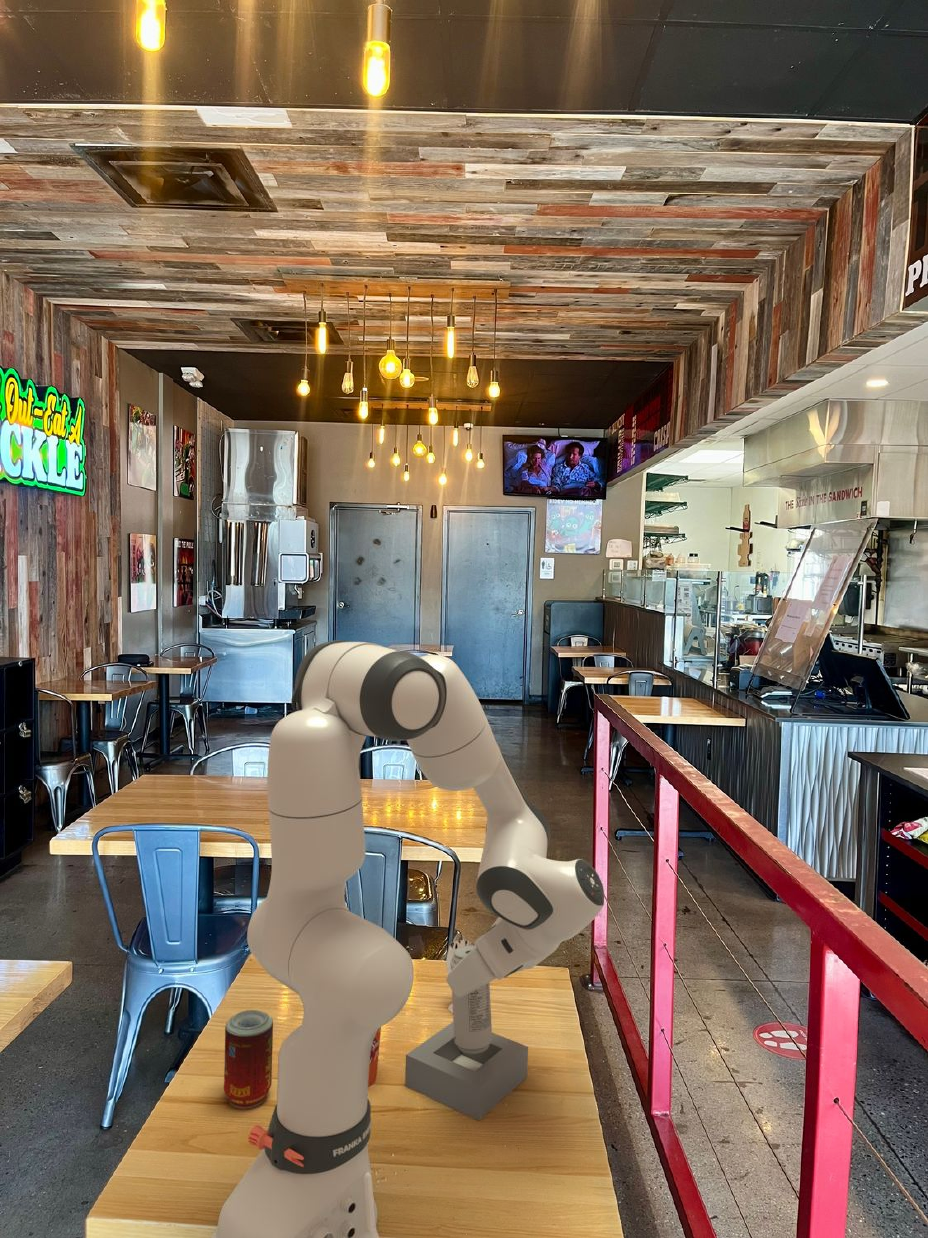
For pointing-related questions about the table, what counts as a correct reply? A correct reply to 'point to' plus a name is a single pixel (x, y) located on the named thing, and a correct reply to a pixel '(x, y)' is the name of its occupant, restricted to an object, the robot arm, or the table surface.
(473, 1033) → the energy drink can
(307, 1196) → the robot arm
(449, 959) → the wineglass
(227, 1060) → the soda can
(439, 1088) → the socket block
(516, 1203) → the table surface
